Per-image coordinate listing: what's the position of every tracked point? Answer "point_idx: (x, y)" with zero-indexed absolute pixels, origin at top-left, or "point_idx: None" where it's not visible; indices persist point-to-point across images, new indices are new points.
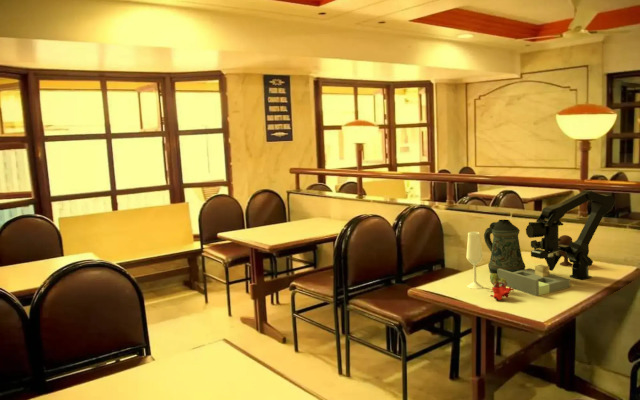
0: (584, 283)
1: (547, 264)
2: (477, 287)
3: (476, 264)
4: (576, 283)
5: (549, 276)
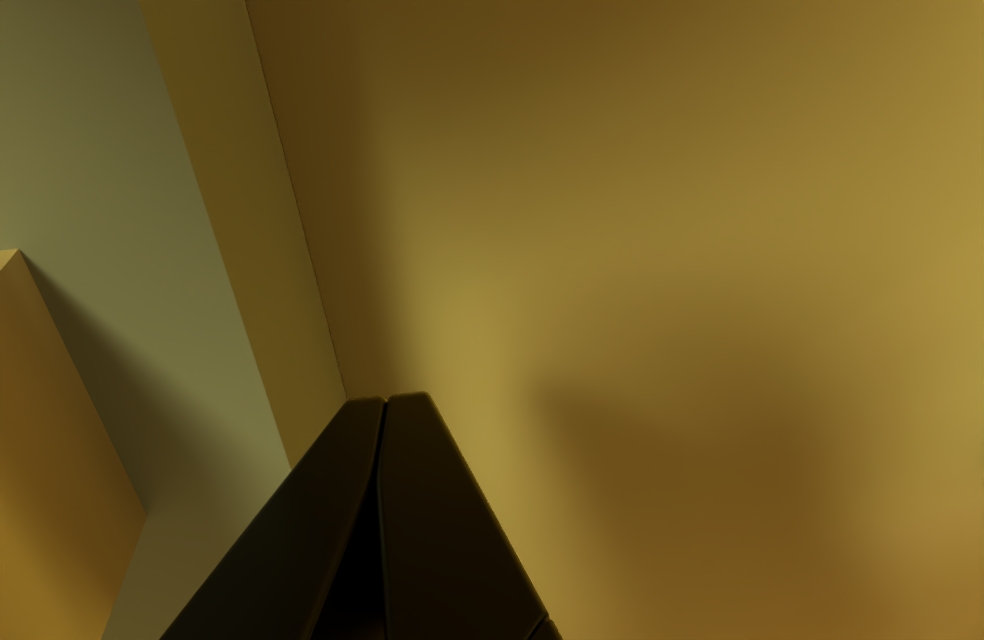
0: (817, 612)
1: (201, 585)
2: None
3: None
4: (705, 568)
5: None
